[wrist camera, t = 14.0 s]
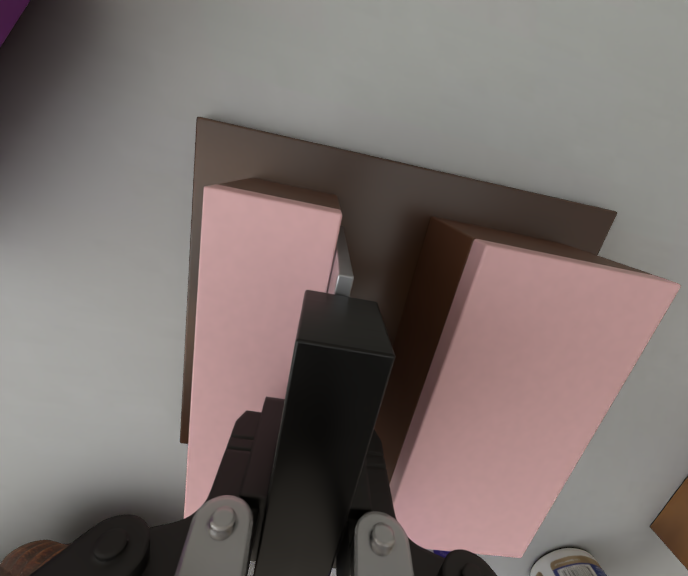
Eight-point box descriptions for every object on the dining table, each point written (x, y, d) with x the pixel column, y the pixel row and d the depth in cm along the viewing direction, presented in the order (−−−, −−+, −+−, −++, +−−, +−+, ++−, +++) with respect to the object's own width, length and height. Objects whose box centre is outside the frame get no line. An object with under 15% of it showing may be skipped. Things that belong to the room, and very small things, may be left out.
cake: (431, 215, 16) (486, 244, 10) (564, 243, 17) (683, 284, 11) (364, 441, 21) (378, 545, 15) (471, 454, 21) (521, 559, 16)
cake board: (202, 118, 15) (195, 115, 14) (606, 209, 17) (619, 211, 16) (184, 433, 21) (179, 443, 20) (484, 470, 23) (489, 481, 22)
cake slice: (250, 176, 15) (203, 185, 9) (337, 195, 15) (342, 214, 10) (224, 422, 20) (182, 526, 14) (292, 431, 20) (277, 535, 14)
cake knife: (318, 220, 14) (300, 313, 6) (358, 228, 15) (404, 331, 6) (279, 435, 18) (232, 689, 10) (311, 439, 19) (295, 692, 10)
